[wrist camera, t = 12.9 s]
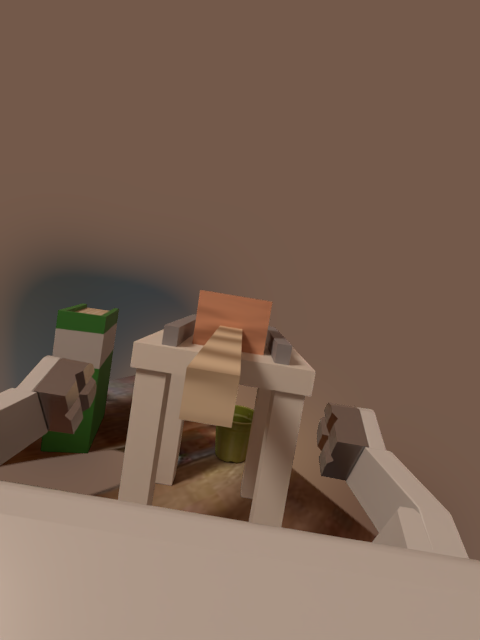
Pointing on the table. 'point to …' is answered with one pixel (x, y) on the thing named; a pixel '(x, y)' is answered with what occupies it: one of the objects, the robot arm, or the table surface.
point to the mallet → (221, 354)
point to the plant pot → (234, 436)
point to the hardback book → (92, 347)
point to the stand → (166, 428)
